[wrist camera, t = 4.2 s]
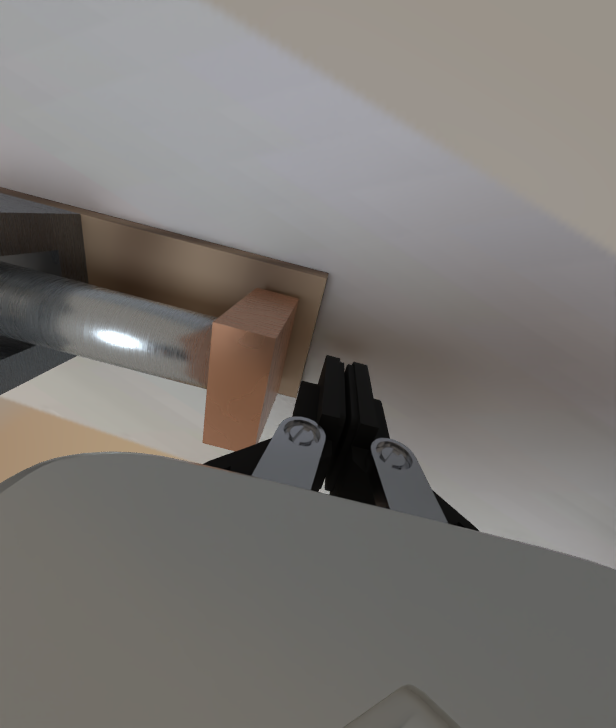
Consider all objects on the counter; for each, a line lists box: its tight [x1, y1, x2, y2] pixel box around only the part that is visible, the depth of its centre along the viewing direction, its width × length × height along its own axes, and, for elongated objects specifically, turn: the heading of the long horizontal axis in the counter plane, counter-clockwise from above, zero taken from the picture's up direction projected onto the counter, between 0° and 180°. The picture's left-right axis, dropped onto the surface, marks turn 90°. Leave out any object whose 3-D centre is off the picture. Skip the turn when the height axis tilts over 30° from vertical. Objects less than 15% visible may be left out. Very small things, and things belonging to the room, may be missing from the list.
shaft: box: [0, 261, 299, 451], centre depth 12 cm, size 13×5×5 cm, turn 77°
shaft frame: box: [0, 187, 328, 398], centre depth 13 cm, size 18×7×8 cm, turn 77°
